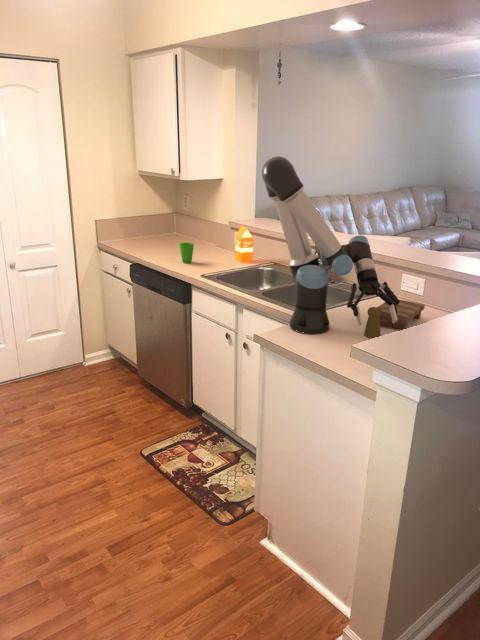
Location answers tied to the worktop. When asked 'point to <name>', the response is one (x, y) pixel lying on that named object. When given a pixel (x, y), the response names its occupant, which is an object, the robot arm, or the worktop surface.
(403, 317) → the walnut shelf
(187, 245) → the cup
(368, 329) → the cork
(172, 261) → the worktop surface
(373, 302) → the worktop surface
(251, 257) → the orange juice
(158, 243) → the worktop surface
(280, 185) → the robot arm
